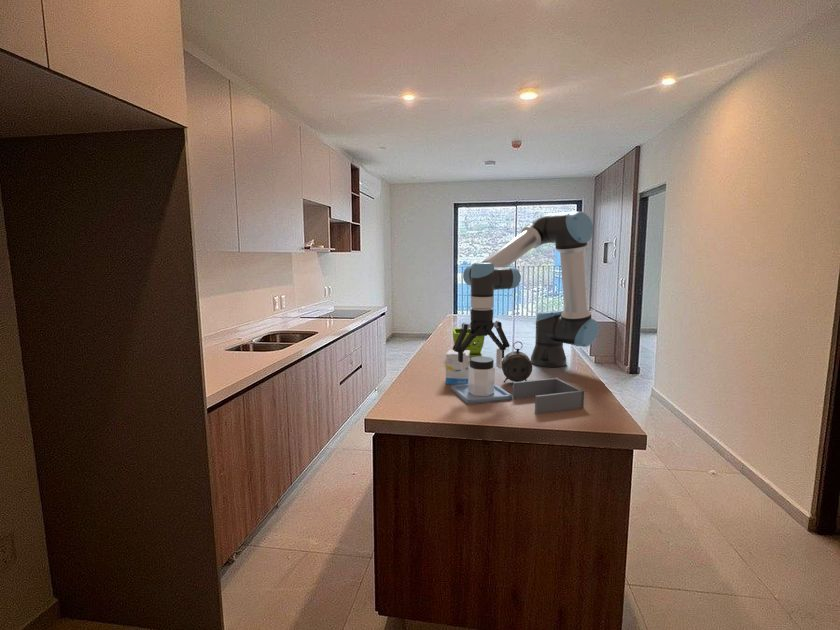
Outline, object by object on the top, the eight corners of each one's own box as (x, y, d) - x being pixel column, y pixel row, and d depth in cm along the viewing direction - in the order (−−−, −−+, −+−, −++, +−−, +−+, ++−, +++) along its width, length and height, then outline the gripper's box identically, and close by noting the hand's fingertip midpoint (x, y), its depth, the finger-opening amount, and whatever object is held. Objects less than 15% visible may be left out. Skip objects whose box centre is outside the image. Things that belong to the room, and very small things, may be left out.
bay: (555, 392, 152) (556, 377, 151) (583, 407, 138) (584, 391, 137) (512, 397, 147) (513, 382, 146) (536, 413, 133) (537, 396, 132)
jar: (477, 387, 157) (478, 354, 155) (497, 391, 151) (498, 358, 150) (464, 393, 150) (464, 359, 148) (484, 398, 145) (484, 363, 143)
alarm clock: (529, 381, 165) (531, 340, 162) (532, 386, 159) (534, 343, 157) (500, 381, 165) (502, 339, 163) (502, 385, 160) (503, 342, 158)
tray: (491, 385, 161) (491, 381, 160) (512, 399, 145) (512, 395, 145) (450, 389, 156) (450, 385, 156) (468, 404, 141) (468, 400, 141)
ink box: (468, 385, 160) (468, 355, 158) (445, 384, 162) (445, 354, 160) (470, 378, 169) (470, 349, 167) (448, 377, 170) (448, 348, 168)
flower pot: (484, 361, 195) (485, 333, 193) (453, 361, 195) (454, 333, 193) (480, 353, 208) (481, 327, 206) (451, 353, 209) (452, 327, 207)
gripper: (509, 305, 153) (508, 363, 156) (443, 308, 146) (443, 369, 149) (520, 308, 146) (518, 368, 149) (451, 312, 139) (451, 375, 142)
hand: (481, 369), depth 149 cm, fingers open, 13 cm apart
